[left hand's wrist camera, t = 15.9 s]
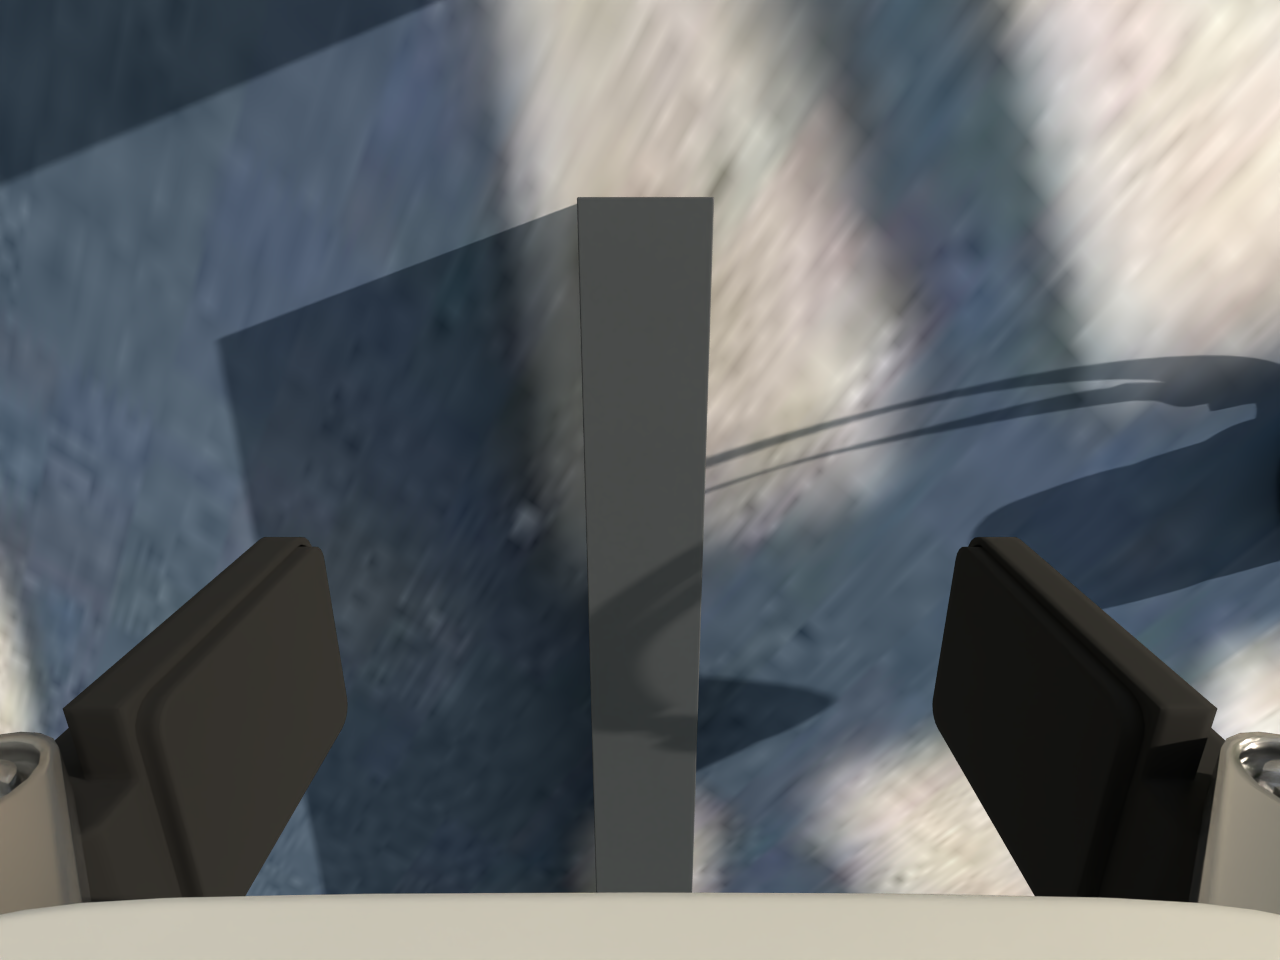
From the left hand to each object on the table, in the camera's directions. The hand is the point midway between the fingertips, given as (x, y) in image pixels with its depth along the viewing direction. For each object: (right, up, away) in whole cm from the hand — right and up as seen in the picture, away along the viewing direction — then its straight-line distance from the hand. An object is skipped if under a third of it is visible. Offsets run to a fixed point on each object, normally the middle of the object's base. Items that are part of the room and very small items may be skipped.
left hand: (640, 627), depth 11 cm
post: (0, -19, +40) cm, 44 cm away
